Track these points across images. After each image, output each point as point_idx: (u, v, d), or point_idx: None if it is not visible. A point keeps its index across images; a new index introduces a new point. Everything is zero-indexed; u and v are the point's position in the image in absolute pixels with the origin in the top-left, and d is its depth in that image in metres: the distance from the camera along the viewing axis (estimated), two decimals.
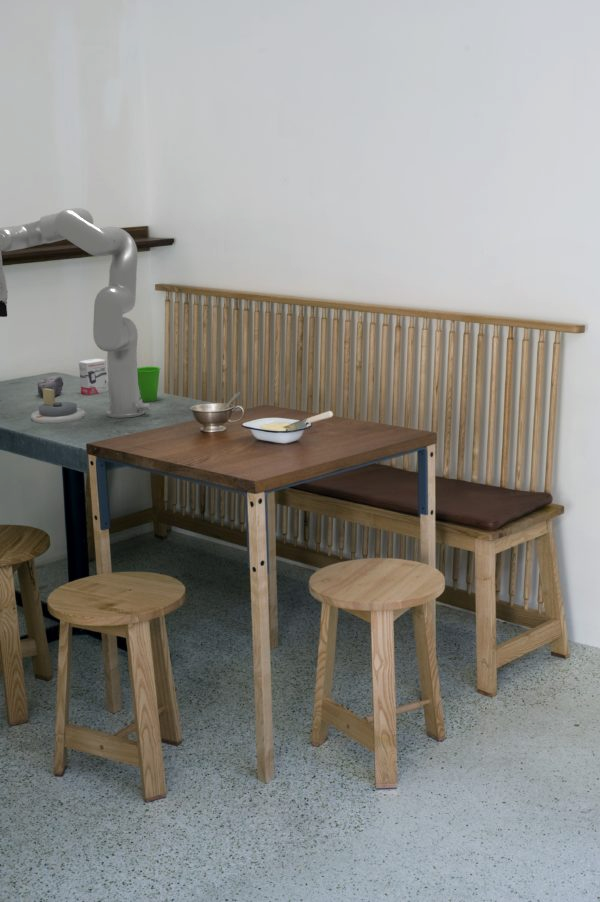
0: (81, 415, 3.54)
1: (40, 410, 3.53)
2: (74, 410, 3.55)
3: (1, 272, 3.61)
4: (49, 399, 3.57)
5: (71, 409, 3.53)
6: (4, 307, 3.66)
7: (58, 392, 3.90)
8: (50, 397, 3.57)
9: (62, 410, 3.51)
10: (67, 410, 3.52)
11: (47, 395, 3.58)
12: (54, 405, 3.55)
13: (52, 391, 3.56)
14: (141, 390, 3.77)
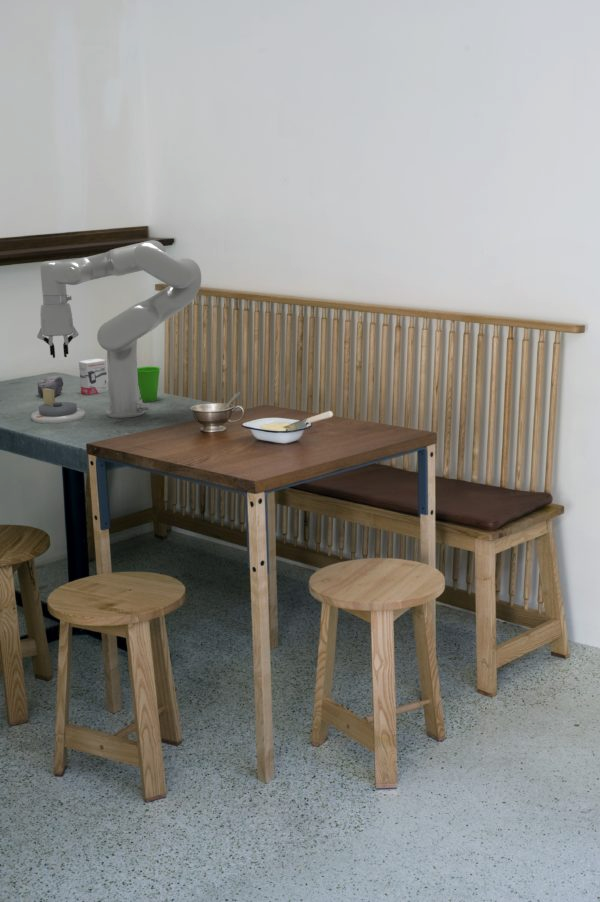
0: (81, 415, 3.54)
1: (40, 410, 3.53)
2: (74, 410, 3.55)
3: None
4: (49, 399, 3.57)
5: (71, 409, 3.53)
6: None
7: (58, 392, 3.90)
8: (50, 397, 3.57)
9: (62, 410, 3.51)
10: (67, 410, 3.52)
11: (47, 395, 3.58)
12: (54, 405, 3.55)
13: (52, 391, 3.56)
14: (141, 390, 3.77)
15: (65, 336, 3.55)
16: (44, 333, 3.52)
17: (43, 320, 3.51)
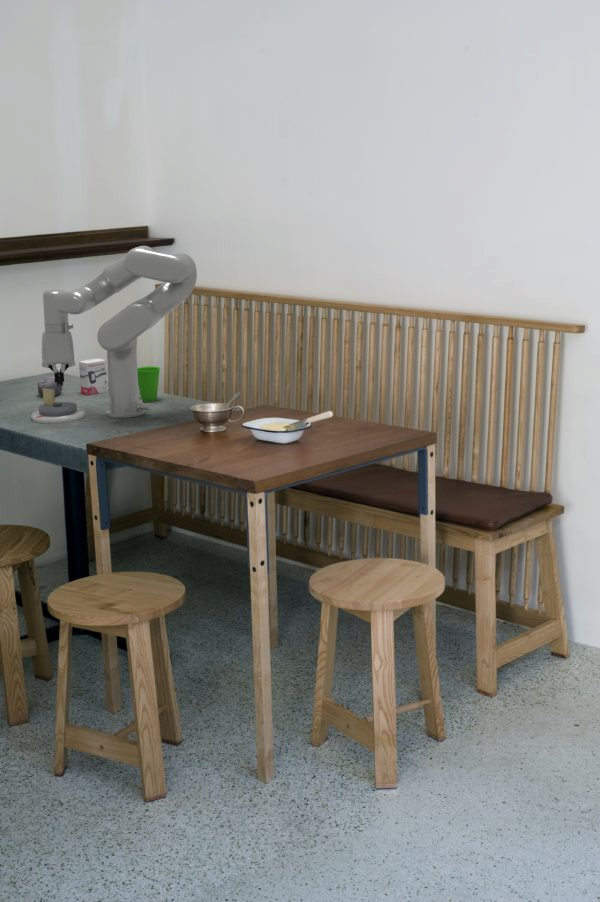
0: (81, 415, 3.54)
1: (40, 410, 3.53)
2: (74, 410, 3.55)
3: None
4: (49, 399, 3.57)
5: (71, 409, 3.53)
6: None
7: (58, 392, 3.90)
8: (50, 397, 3.57)
9: (62, 410, 3.51)
10: (67, 410, 3.52)
11: (47, 395, 3.58)
12: (54, 405, 3.55)
13: (52, 391, 3.56)
14: (141, 390, 3.77)
15: (63, 364, 3.57)
16: (45, 361, 3.54)
17: (44, 348, 3.53)
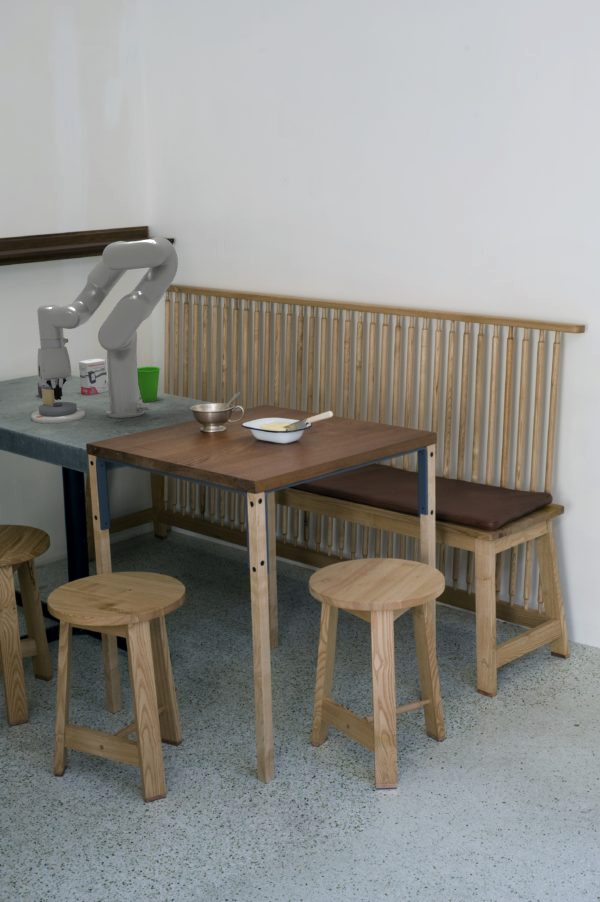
0: (81, 415, 3.54)
1: (41, 410, 3.53)
2: (75, 410, 3.55)
3: None
4: (48, 399, 3.57)
5: (72, 409, 3.54)
6: None
7: None
8: (50, 397, 3.57)
9: (63, 410, 3.51)
10: (68, 410, 3.52)
11: (46, 396, 3.57)
12: (54, 405, 3.55)
13: (52, 391, 3.56)
14: (141, 390, 3.77)
15: (61, 379, 3.58)
16: (44, 377, 3.55)
17: (43, 364, 3.53)
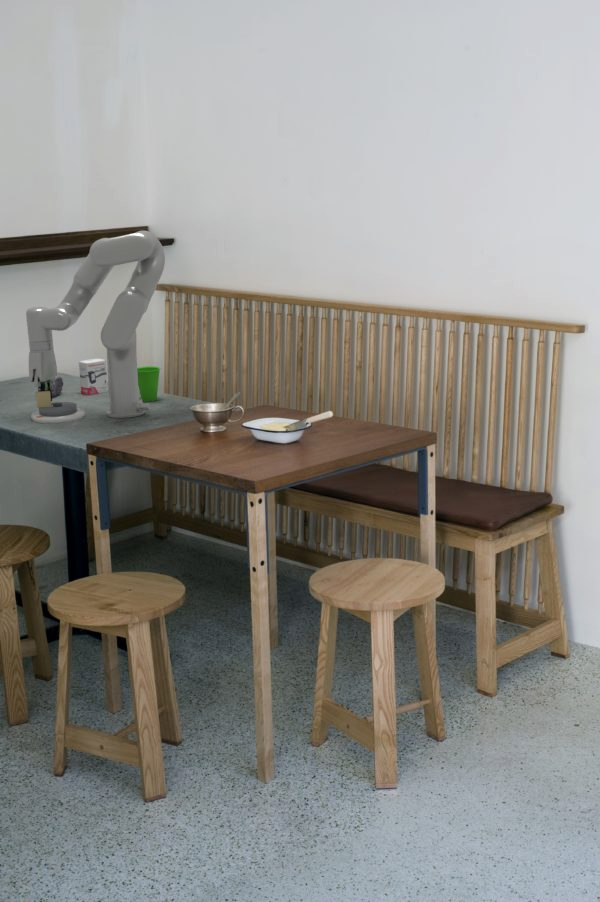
0: (81, 415, 3.54)
1: (53, 411, 3.51)
2: None
3: None
4: (46, 401, 3.54)
5: None
6: None
7: (58, 392, 3.90)
8: (49, 398, 3.54)
9: (75, 407, 3.55)
10: (76, 406, 3.57)
11: (43, 398, 3.54)
12: (58, 405, 3.55)
13: None
14: (141, 390, 3.77)
15: (50, 380, 3.57)
16: (42, 379, 3.52)
17: (41, 366, 3.51)
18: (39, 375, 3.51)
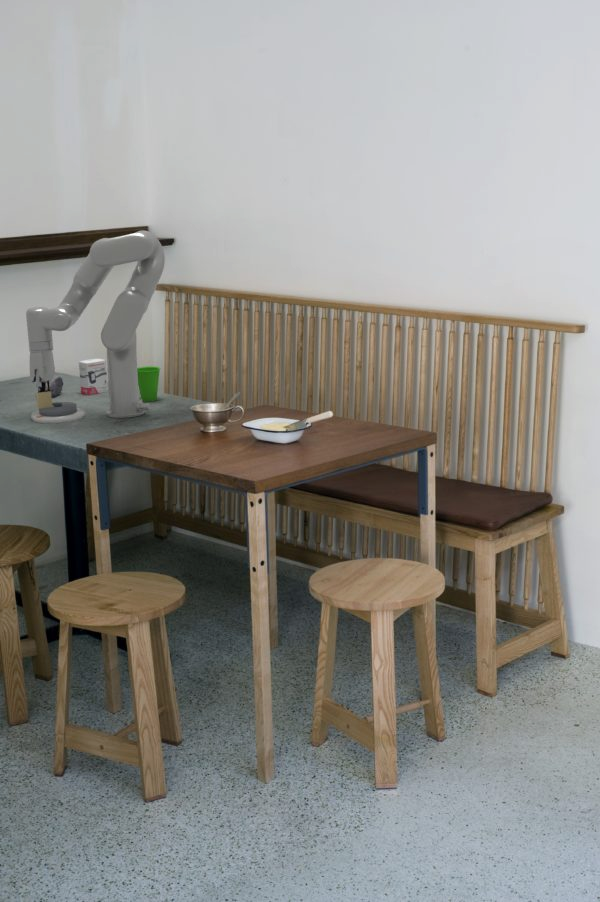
0: (81, 415, 3.54)
1: (59, 411, 3.51)
2: None
3: None
4: (47, 402, 3.54)
5: None
6: None
7: (58, 392, 3.90)
8: (50, 399, 3.54)
9: (76, 406, 3.57)
10: None
11: (44, 399, 3.53)
12: (59, 405, 3.55)
13: None
14: (141, 390, 3.77)
15: (49, 380, 3.57)
16: (44, 379, 3.52)
17: (43, 366, 3.50)
18: (41, 375, 3.51)
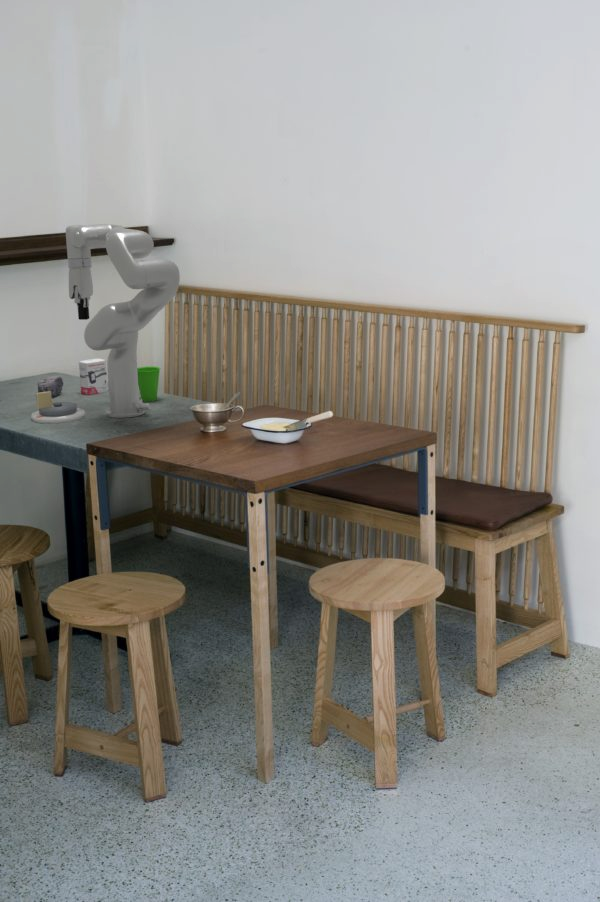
0: (81, 415, 3.54)
1: (59, 411, 3.51)
2: None
3: None
4: (47, 402, 3.54)
5: None
6: None
7: (58, 392, 3.90)
8: (50, 399, 3.54)
9: (76, 406, 3.57)
10: None
11: (44, 399, 3.53)
12: (59, 405, 3.55)
13: None
14: (141, 390, 3.77)
15: (88, 298, 3.65)
16: (82, 296, 3.60)
17: (82, 283, 3.59)
18: (80, 291, 3.59)
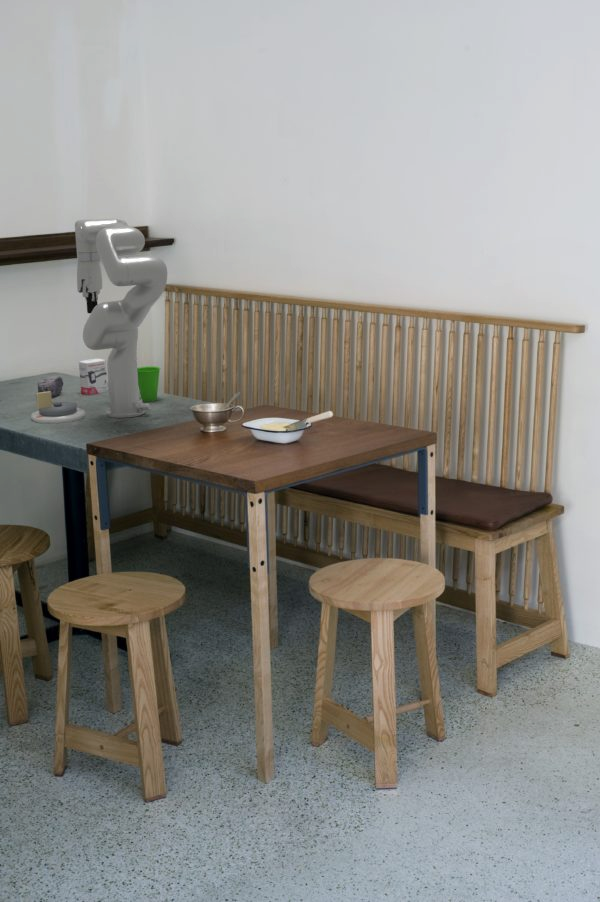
0: (81, 415, 3.54)
1: (59, 411, 3.51)
2: None
3: None
4: (47, 402, 3.54)
5: None
6: None
7: (58, 392, 3.90)
8: (50, 399, 3.54)
9: (76, 406, 3.57)
10: None
11: (44, 399, 3.53)
12: (59, 405, 3.55)
13: None
14: (141, 390, 3.77)
15: (96, 292, 3.68)
16: (90, 290, 3.62)
17: (90, 277, 3.61)
18: (88, 285, 3.61)
